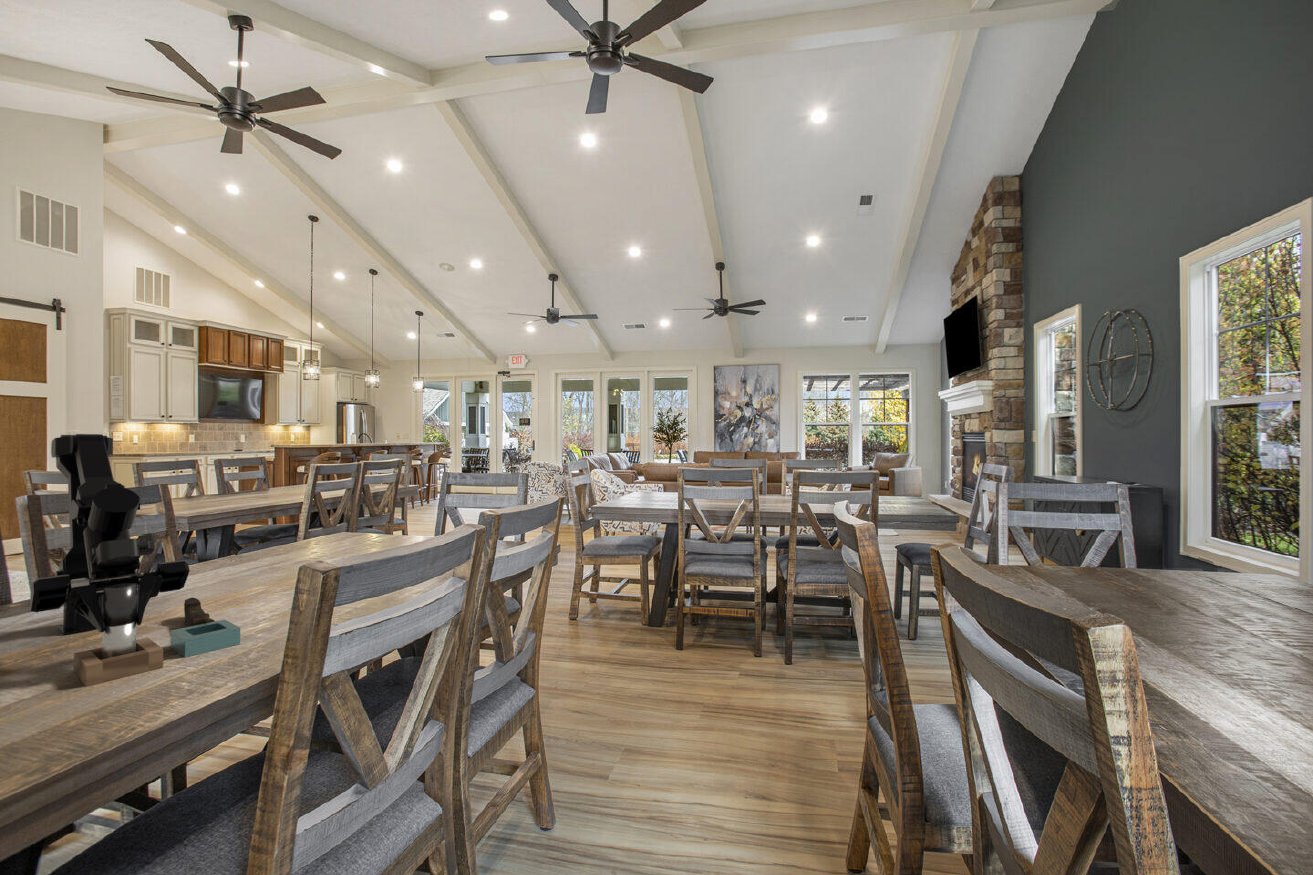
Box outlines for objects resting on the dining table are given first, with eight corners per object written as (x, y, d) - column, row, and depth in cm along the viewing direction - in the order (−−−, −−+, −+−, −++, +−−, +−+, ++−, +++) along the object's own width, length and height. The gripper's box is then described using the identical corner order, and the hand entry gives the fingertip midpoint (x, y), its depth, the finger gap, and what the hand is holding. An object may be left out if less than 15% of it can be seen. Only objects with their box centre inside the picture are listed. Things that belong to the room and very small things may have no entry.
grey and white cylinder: (105, 664, 92) (107, 584, 92) (138, 659, 94) (140, 581, 94) (98, 672, 88) (100, 590, 88) (132, 667, 90) (134, 587, 90)
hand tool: (215, 637, 107) (215, 613, 107) (188, 642, 104) (188, 617, 104) (206, 615, 121) (206, 593, 121) (182, 619, 118) (182, 596, 118)
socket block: (170, 647, 101) (171, 630, 101) (224, 634, 107) (224, 619, 107) (185, 657, 96) (185, 639, 96) (240, 643, 103) (240, 627, 103)
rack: (73, 671, 90) (74, 653, 90) (147, 654, 97) (147, 637, 97) (85, 686, 85) (86, 666, 85) (163, 667, 92) (163, 648, 92)
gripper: (33, 526, 86) (40, 612, 79) (187, 515, 101) (204, 586, 94) (27, 570, 91) (33, 654, 84) (175, 553, 106) (190, 623, 99)
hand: (121, 627), depth 90 cm, fingers closed on grey and white cylinder, 4 cm apart
